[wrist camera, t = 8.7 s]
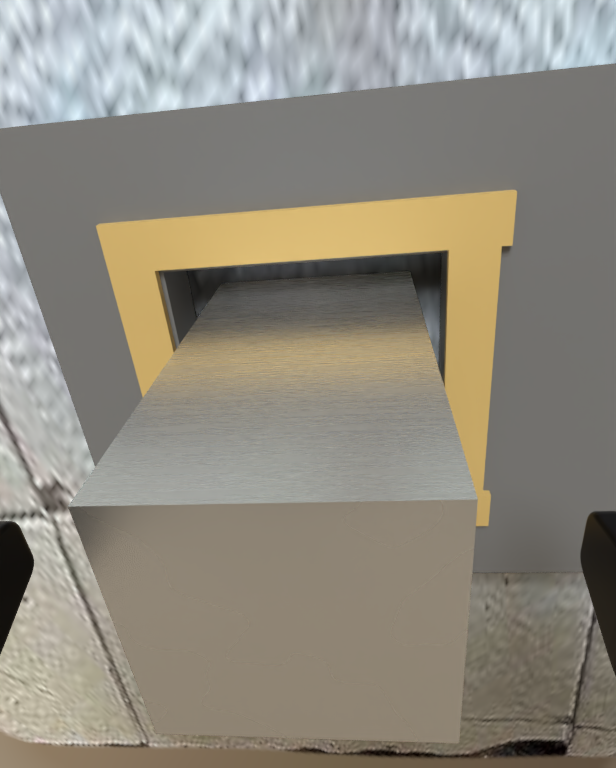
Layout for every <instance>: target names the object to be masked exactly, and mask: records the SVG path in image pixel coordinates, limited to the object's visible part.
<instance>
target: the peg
mask: <svg viewBox="0 0 616 768" xmlns="http://www.w3.org/2000/svg"><path fill="white" fill-rule="evenodd" d="M477 505H478V498H477V495H476V491H475V488H474V485H473V481H472V478H471V475H470V471H469V468H468V464H467V461H466V458H465V454H464V451H463V448H462V444H461V441H460V438H459V434H458V431H457V428H456V424H455V421H454V418H453V414H452V411H451V408H450V404H449V401H448V397H447V394H446V391H445V387H444V384H443V381H442V377H441V374H440V371H439V367H438V364H437V361H436V357H435V354H434V351H433V347H432V344H431V340H430V337H429V334H428V330H427V327H426V324H425V320H424V317H423V314H422V310H421V307H420V304H419V300H418V297H417V294H416V290H415V287H414V284H413V280H412V277H411V273H410V271H405V272H389V273H373V274H357V275H342V276H326V277H310V278H295V279H279V280H263V281H247V282H232V283H222V284H221V285H220V286H219V288H218V289H217V291H216V292H215V294H214V295H213V297H212V298H211V300H210V301H209V302H208V304H207V305H206V307H205V308H204V310H203V311H202V313H201V314H200V316H199V317H198V318H197V320H196V321H195V323H194V324H193V326H192V327H191V329H190V330H189V332H188V333H187V334H186V336H185V337H184V339H183V340H182V342H181V343H180V345H179V346H178V348H177V349H176V350H175V352H174V353H173V355H172V356H171V358H170V359H169V361H168V362H167V364H166V365H165V366H164V368H163V369H162V371H161V372H160V374H159V375H158V377H157V378H156V380H155V381H154V382H153V384H152V385H151V387H150V388H149V390H148V391H147V393H146V394H145V395H144V397H143V398H142V400H141V401H140V403H139V404H138V406H137V407H136V409H135V410H134V411H133V413H132V414H131V416H130V417H129V419H128V420H127V422H126V423H125V425H124V426H123V427H122V429H121V430H120V432H119V433H118V435H117V436H116V438H115V439H114V441H113V442H112V443H111V445H110V446H109V448H108V449H107V451H106V452H105V454H104V455H103V457H102V458H101V459H100V461H99V462H98V464H97V465H96V467H95V468H94V470H93V471H92V473H91V474H90V475H89V477H88V478H87V480H86V481H85V483H84V484H83V486H82V487H81V489H80V490H79V491H78V493H77V494H76V496H75V497H74V499H73V500H72V502H71V503H70V505H69V506H68V508H69V510H70V513H71V515H72V518H73V520H74V523H75V526H76V528H77V531H78V533H79V536H80V538H81V541H82V544H83V546H84V549H85V551H86V554H87V556H88V559H89V562H90V564H91V567H92V569H93V572H94V574H95V577H96V580H97V582H98V585H99V587H100V590H101V592H102V595H103V598H104V600H105V603H106V605H107V608H108V610H109V613H110V616H111V618H112V621H113V623H114V626H115V628H116V631H117V634H118V636H119V639H120V641H121V644H122V646H123V649H124V652H125V654H126V657H127V659H128V662H129V664H130V667H131V670H132V672H133V675H134V677H135V680H136V682H137V685H138V688H139V690H140V693H141V695H142V698H143V700H144V703H145V706H146V708H147V711H148V713H149V716H150V718H151V721H152V724H153V726H154V729H155V731H156V734H174V735H206V736H238V737H270V738H302V739H335V740H367V741H399V742H431V743H459V738H460V725H461V712H462V699H463V686H464V673H465V661H466V648H467V635H468V622H469V609H470V596H471V583H472V570H473V557H474V544H475V531H476V518H477Z"/></svg>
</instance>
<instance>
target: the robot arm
mask: <svg viewBox="0 0 616 768" xmlns="http://www.w3.org/2000/svg"><path fill="white" fill-rule="evenodd" d="M580 561H581V567H582V570H583V574H584V577H585V580H586V584H587V587H588V590H589V593H590V597H591V600H592V603H593V607H594V610H595V613H596V616H597V620H598V623H599V626H600V630H601V633H602V636H603V639H604V643H605V646H606V649H607V653H608V656H609V659H610V662H611V665H612V668H613V671H614V673H615V676H616V511H594V512H591V513H590V514H589V515H588V518H587V521H586V526H585V531H584V536H583V541H582V546H581V551H580ZM33 567H34V559H33V555H32V553H31V550H30V548H29V546H28V544H27V542H26V539H25V537H24V535H23V533H22V531H21V528H20V527H19V525H18V524H16V523H15V522H12V521H0V654H1V651H2V649H3V647H4V644H5V642H6V639H7V637H8V634H9V631H10V629H11V626H12V624H13V621H14V618H15V616H16V613H17V611H18V608H19V606H20V603H21V600H22V598H23V595H24V593H25V590H26V588H27V585H28V582H29V580H30V577H31V575H32V572H33Z"/></svg>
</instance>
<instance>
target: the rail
mask: <svg viewBox="0 0 616 768" xmlns="http://www.w3.org/2000/svg"><path fill="white" fill-rule="evenodd" d="M0 193H1V196H2V199H3V202H4V205H5V208H6V211H7V213H8V216H9V219H10V222H11V225H12V228H13V231H14V234H15V237H16V239H17V242H18V245H19V248H20V251H21V254H22V257H23V260H24V262H25V265H26V268H27V271H28V274H29V277H30V280H31V283H32V286H33V288H34V291H35V294H36V297H37V300H38V303H39V306H40V309H41V312H42V314H43V317H44V320H45V323H46V326H47V329H48V332H49V335H50V338H51V340H52V343H53V346H54V349H55V352H56V355H57V358H58V361H59V363H60V366H61V369H62V372H63V375H64V378H65V381H66V384H67V387H68V389H69V392H70V395H71V398H72V401H73V404H74V407H75V410H76V413H77V415H78V418H79V421H80V424H81V427H82V430H83V433H84V436H85V439H86V441H87V444H88V447H89V450H90V453H91V456H92V459H93V462H94V464H95V467H96V465H97V464H98V462H99V461H100V459H101V458H102V457H103V455H104V454H105V452H106V451H107V449H108V448H109V446H110V445H111V443H112V442H113V441H114V439H115V438H116V436H117V435H118V433H119V432H120V430H121V429H122V427H123V426H124V425H125V423H126V422H127V420H128V419H129V417H130V416H131V414H132V413H133V411H134V410H135V409H136V407H137V406H138V404H139V403H140V401H141V400H142V398H143V397H144V395H145V394H146V393H147V391H148V390H149V388H150V387H151V385H152V384H153V382H154V381H155V380H156V378H157V377H158V375H159V374H160V372H161V371H162V369H163V368H164V366H165V365H166V364H167V362H168V361H169V359H170V358H171V356H172V355H173V353H174V352H175V350H176V349H177V348H178V346H179V345H180V343H181V342H182V340H183V339H184V337H185V336H186V334H187V333H188V332H189V330H190V329H191V327H192V326H193V324H194V323H195V321H196V320H197V319H196V314H195V309H194V304H193V299H192V295H191V290H190V285H189V280H188V275H187V271H191V270H205V269H219V268H233V267H247V266H262V265H276V264H290V263H304V262H318V261H333V260H347V259H361V258H375V257H389V256H403V255H418V254H432V253H442V256H441V297H440V339H439V371H440V374H441V377H442V381H443V384H444V387H445V391H446V394H447V397H448V401H449V404H450V408H451V411H452V414H453V418H454V421H455V424H456V428H457V431H458V434H459V438H460V441H461V444H462V448H463V451H464V454H465V458H466V461H467V464H468V468H469V471H470V475H471V478H472V481H473V485H474V488H475V491H476V495H477V498H478V505H477V518H476V531H475V544H474V557H473V570H472V573H517V572H583V570H582V567H581V561H580V551H581V546H582V541H583V536H584V531H585V526H586V521H587V518H588V515H589V514H590V513H591V512H594V511H616V64H607V65H597V66H588V67H578V68H569V69H559V70H550V71H540V72H531V73H521V74H512V75H502V76H493V77H483V78H474V79H464V80H455V81H445V82H436V83H427V84H417V85H408V86H398V87H389V88H379V89H370V90H360V91H351V92H341V93H332V94H322V95H313V96H303V97H294V98H284V99H275V100H265V101H256V102H246V103H237V104H227V105H218V106H208V107H199V108H189V109H180V110H171V111H161V112H152V113H142V114H133V115H123V116H114V117H104V118H95V119H85V120H76V121H66V122H57V123H47V124H38V125H28V126H19V127H10V128H1V129H0Z"/></svg>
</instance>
